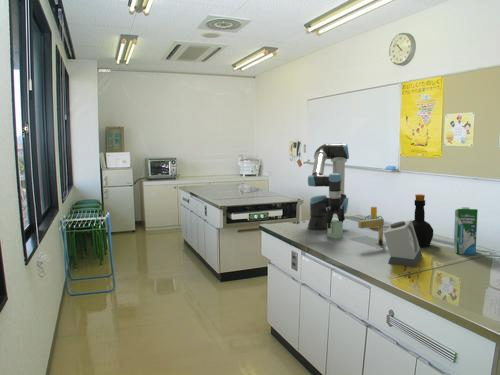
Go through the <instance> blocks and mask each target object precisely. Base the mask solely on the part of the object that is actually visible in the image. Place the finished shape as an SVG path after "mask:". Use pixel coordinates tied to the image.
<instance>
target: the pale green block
mask: <svg viewBox="0 0 500 375" xmlns="http://www.w3.org/2000/svg"><path fill="white" fill-rule="evenodd" d="M331 223H332V234H331V233H328V223H327V229H326V230H327V233H326V234H327V237H329V238H332V239H334V240H335V239H341V238H344V236H343V232H344V230H343V229H344V228H343V226H344V224H343V223H344V221H343V222H342V221H339V220H338V219H332V221H331Z"/></svg>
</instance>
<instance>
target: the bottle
mask: <svg viewBox="0 0 500 375" xmlns="http://www.w3.org/2000/svg"><path fill="white" fill-rule="evenodd" d="M425 197H426V196H425V194H415V199H414V206H415V207H414V219H413V220H412V223H413V227H414V230H415V233H416V237H417V240H418V243H419V247H420V248H427V247H430V246H431V243H432V240H433V239H434V238H433V237H434V228H433V227H432V225H431V224H430V223H429V222H427V221H426V220H425V213H426V212H425V206H426V200H425Z"/></svg>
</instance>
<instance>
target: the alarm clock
mask: <svg viewBox="0 0 500 375" xmlns="http://www.w3.org/2000/svg"><path fill="white" fill-rule="evenodd" d="M412 221H413V220H412V219H411V220H405V221H402V220H401V221H398V222H397V221H396V222H394V223H391V224H390V226H389V227H388V228H387V229H386V230H385V231H383V237H384V239H385V242H386V243H387V246H388V247H387V246H386V247H387V250H388V252H389V256H390V257H389V260H388V265H389V264H391V265H397V266H402V267H403V266H404V267H413V268H417V267H418V265H419V263H420V262H421V259H422V257H423V254H422V251H421V247H419V243H418V240H417V237H416V233H415V230H414V227H413V223H412Z"/></svg>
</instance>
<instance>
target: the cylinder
mask: <svg viewBox="0 0 500 375" xmlns="http://www.w3.org/2000/svg"><path fill="white" fill-rule="evenodd" d="M377 210H378V207H377V206H371V207H370V214H368V215H367V216H365V217H364V220H370V219H379V218H382V219H384V218H383V216H382V215H378V213H377V212H378V211H377ZM368 228H370V229H371V230H372V229H373V230H375V229H379V226H376V227H368Z"/></svg>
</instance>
